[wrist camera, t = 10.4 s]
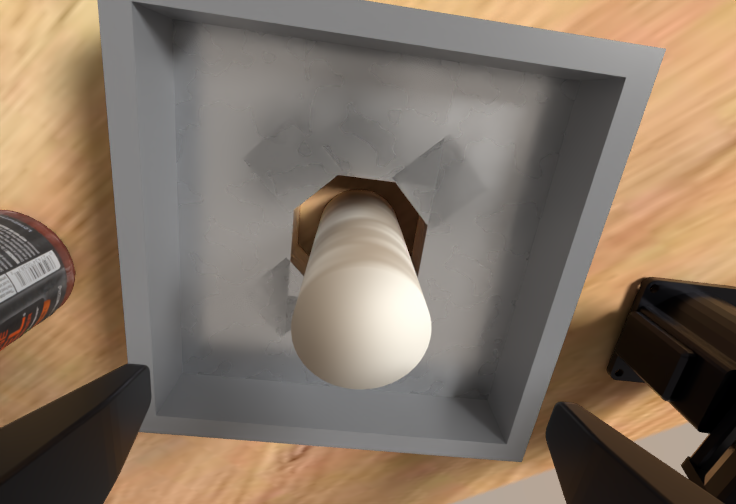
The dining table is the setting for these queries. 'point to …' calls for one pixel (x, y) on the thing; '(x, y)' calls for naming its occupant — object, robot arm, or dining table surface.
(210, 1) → the open box
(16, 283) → the supplement bottle
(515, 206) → the bore plate
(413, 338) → the peg
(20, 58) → the dining table surface
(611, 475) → the robot arm
